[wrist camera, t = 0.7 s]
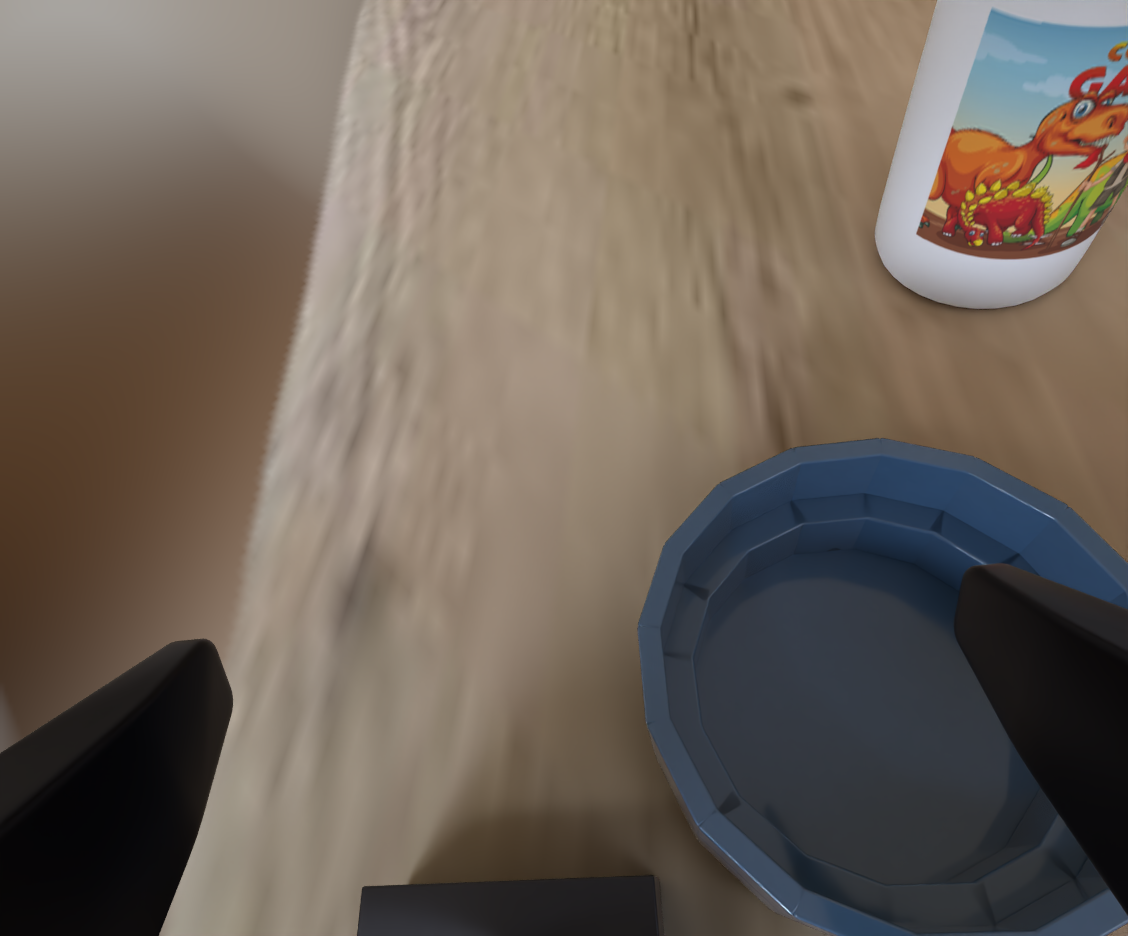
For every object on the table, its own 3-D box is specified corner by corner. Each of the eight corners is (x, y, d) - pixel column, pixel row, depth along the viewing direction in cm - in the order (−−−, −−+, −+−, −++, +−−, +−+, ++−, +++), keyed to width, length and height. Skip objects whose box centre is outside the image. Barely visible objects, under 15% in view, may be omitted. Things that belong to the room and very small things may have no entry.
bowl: (1179, 943, 17) (1342, 961, 13) (673, 956, 18) (668, 976, 14) (998, 502, 23) (1065, 416, 19) (634, 537, 25) (622, 464, 20)
